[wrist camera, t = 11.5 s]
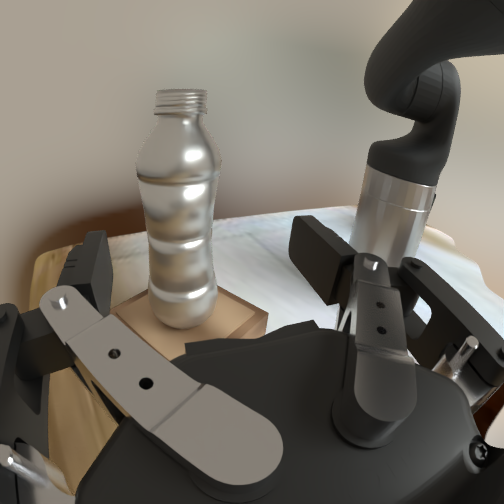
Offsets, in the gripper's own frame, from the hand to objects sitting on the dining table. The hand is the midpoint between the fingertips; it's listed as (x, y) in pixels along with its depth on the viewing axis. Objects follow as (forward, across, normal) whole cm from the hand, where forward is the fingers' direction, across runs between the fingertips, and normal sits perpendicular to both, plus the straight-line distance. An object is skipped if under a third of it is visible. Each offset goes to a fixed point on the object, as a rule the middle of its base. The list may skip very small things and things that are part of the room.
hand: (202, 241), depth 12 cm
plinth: (+11, 0, +17) cm, 20 cm away
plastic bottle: (+11, 0, +14) cm, 18 cm away
